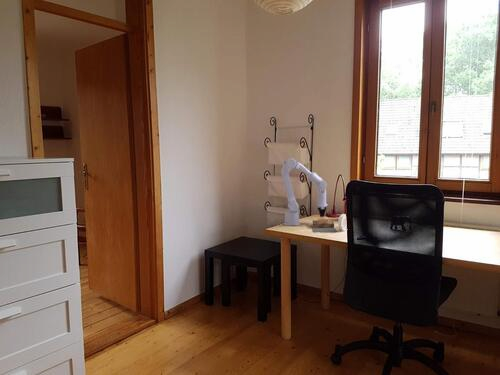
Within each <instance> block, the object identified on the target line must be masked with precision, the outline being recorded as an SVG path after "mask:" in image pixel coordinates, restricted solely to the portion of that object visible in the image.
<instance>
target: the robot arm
mask: <svg viewBox="0 0 500 375" xmlns="http://www.w3.org/2000/svg"><path fill="white" fill-rule="evenodd" d="M294 168H295V169H297V170H299V171H301V172H302V173H304V175H305V176H307V179H308V180H309V181H310V182H311V183H313V185H315V186H316V187H317V192H316V194H317V205H316V206H317V210H318V213H319V217H325V213H326V210H327V207H328V206H329V204H328V203H327V187H328V183H327V181H325V180H324V179H323V177H320V176H319V175H318V173H317V172H314V171H313V172H311V171H310V170H309V168H307V167H305V166H304V165H303V164H302V163H301V162H299V161H298V160H295V159H294V158H291V157H289V158H286V159H285V161H284V162H283V165H282V168H281V171H280V174H281V178H282V181H283V185H284V189H285V193H286V197H287V208H288V210H287V211H284V226H285V227H286V226H289V227H290V226H300V224H301V223H300V212H299V211H300V210H299V209H300V207H299V206H300V205H299V203H298V202H297V200H296V197H295V193H294V189H293V185H292V181H291V178H290V173H291V171H292V170H293V169H294Z"/></svg>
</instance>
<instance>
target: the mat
mask: <svg viewBox="0 0 500 375" xmlns="http://www.w3.org/2000/svg"><path fill="white" fill-rule="evenodd" d="M312 232H313V233H338V231H337V229H336V228H335V227H334V228H313V227H312Z"/></svg>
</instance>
